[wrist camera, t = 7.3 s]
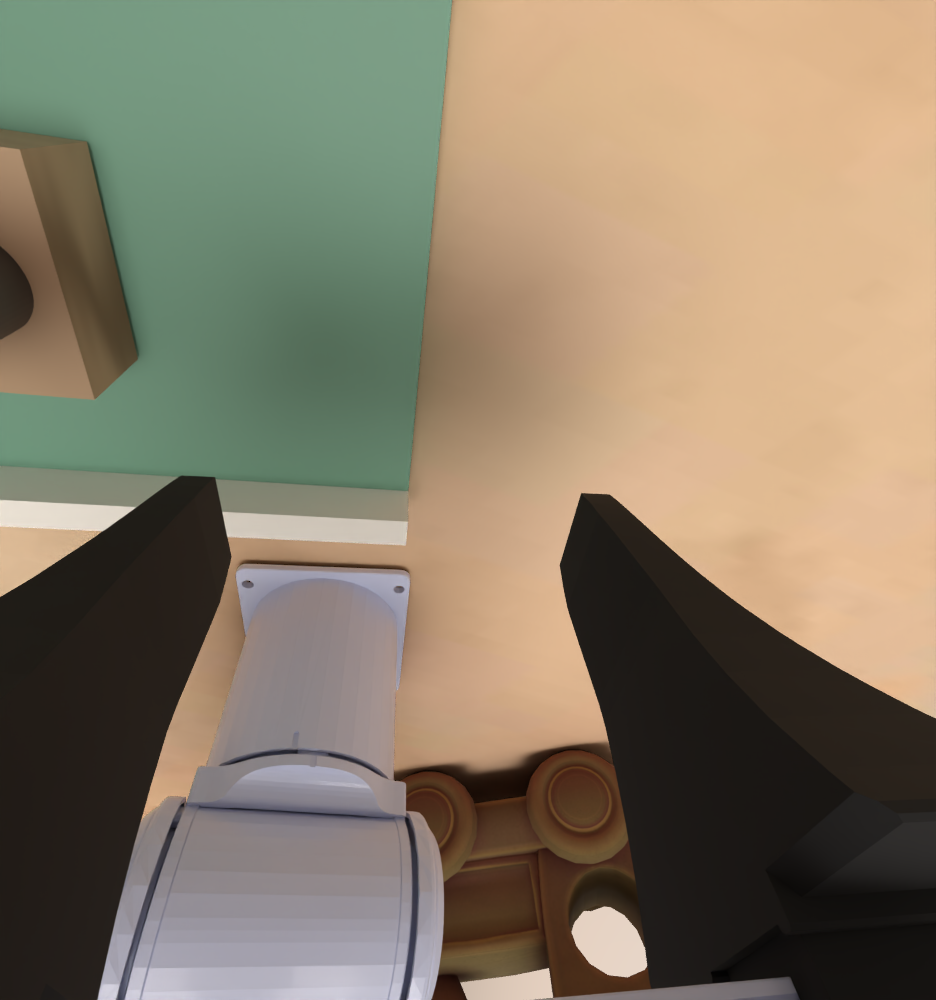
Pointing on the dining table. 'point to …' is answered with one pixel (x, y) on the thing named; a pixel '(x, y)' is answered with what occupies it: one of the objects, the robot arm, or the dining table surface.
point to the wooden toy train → (529, 874)
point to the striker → (57, 273)
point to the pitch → (240, 255)
